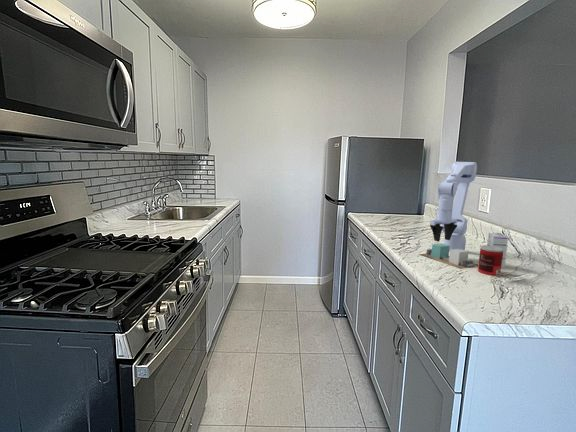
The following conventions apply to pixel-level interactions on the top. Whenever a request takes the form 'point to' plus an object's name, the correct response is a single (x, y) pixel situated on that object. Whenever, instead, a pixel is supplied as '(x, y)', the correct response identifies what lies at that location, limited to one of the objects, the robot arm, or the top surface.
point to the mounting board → (446, 261)
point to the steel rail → (465, 263)
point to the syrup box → (499, 243)
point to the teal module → (440, 250)
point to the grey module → (458, 256)
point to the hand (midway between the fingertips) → (442, 240)
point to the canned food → (490, 260)
